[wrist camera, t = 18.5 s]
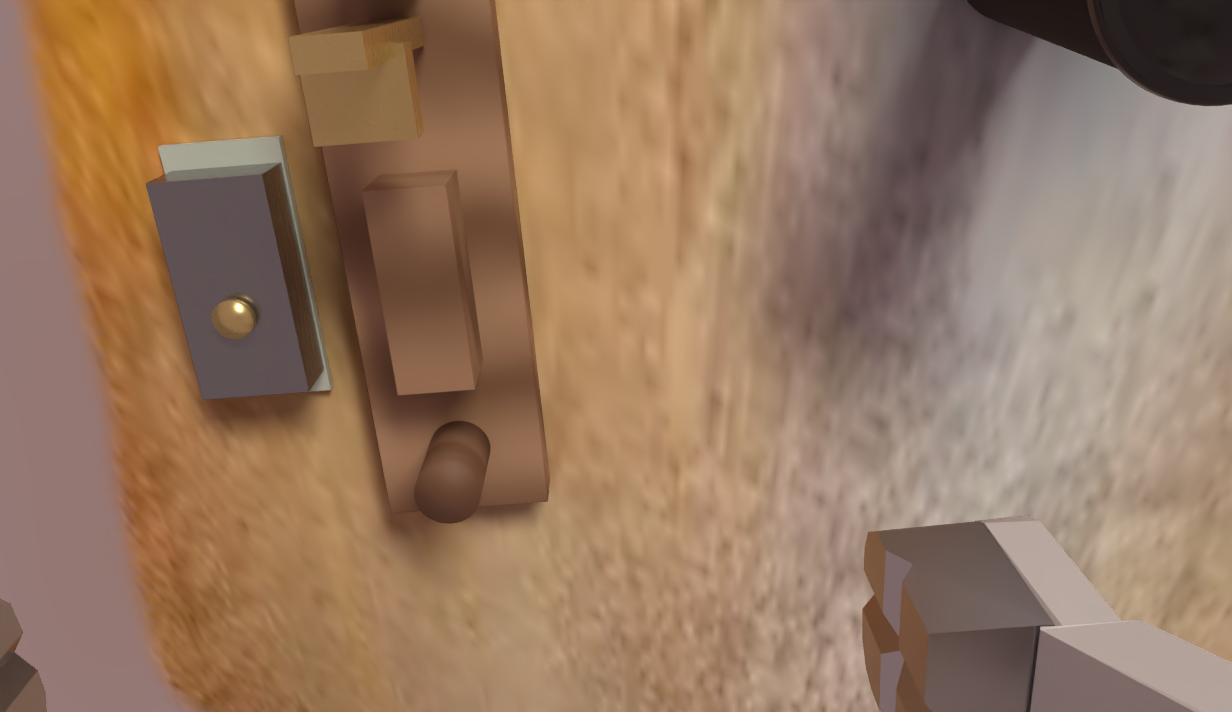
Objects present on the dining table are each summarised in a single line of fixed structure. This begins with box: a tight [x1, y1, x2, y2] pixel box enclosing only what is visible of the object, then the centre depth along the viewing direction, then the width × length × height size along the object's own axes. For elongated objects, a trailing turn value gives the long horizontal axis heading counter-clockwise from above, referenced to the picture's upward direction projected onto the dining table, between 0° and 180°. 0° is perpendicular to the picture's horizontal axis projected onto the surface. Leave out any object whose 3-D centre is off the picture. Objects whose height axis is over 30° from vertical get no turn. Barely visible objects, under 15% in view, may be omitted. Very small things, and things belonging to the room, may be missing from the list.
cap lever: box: [288, 16, 425, 147], centre depth 30 cm, size 3×3×9 cm
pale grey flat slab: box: [158, 136, 333, 395], centre depth 40 cm, size 11×5×1 cm, turn 4°
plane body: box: [294, 0, 550, 523], centre depth 36 cm, size 24×7×8 cm, turn 4°
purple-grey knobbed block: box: [146, 162, 324, 400], centre depth 38 cm, size 9×4×3 cm, turn 4°
